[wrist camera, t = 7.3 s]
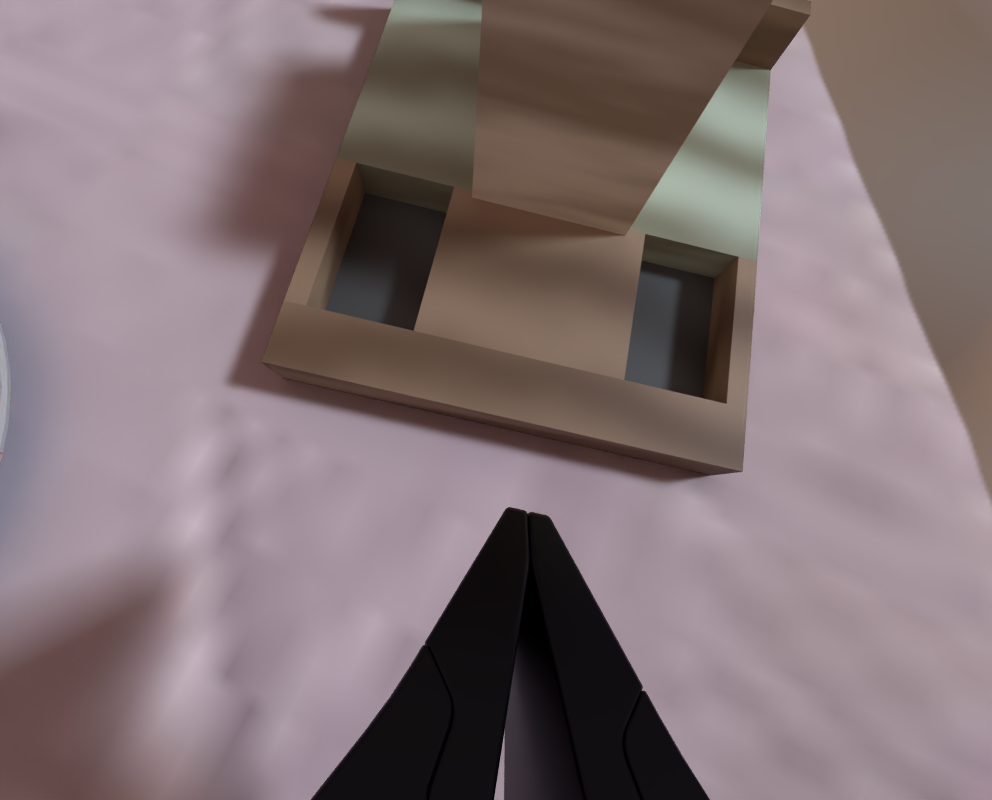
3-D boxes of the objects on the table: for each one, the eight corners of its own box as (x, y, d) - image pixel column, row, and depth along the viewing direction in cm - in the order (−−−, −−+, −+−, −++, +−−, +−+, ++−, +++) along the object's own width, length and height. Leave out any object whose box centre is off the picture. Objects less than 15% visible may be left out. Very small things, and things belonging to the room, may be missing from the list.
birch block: (625, 235, 22) (779, -12, 12) (471, 197, 22) (487, -91, 11) (653, 57, 25) (797, -268, 15) (518, 22, 25) (565, -336, 14)
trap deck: (711, 475, 22) (791, 465, 17) (283, 377, 22) (226, 335, 16) (744, 95, 29) (810, 1, 23) (412, 8, 28) (402, -109, 22)
